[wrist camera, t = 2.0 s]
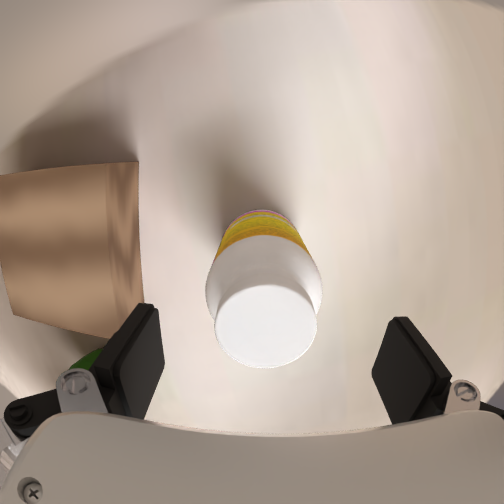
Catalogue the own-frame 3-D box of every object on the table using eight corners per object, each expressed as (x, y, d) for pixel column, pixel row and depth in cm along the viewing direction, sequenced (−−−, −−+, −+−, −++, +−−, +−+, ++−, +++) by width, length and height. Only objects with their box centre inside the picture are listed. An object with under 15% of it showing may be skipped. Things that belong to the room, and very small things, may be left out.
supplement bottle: (214, 217, 24) (172, 275, 12) (291, 200, 23) (331, 243, 11) (232, 288, 26) (215, 390, 14) (304, 274, 25) (341, 368, 13)
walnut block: (144, 307, 27) (122, 341, 21) (43, 291, 26) (13, 314, 21) (138, 161, 22) (105, 163, 17) (29, 170, 22) (-9, 177, 17)
